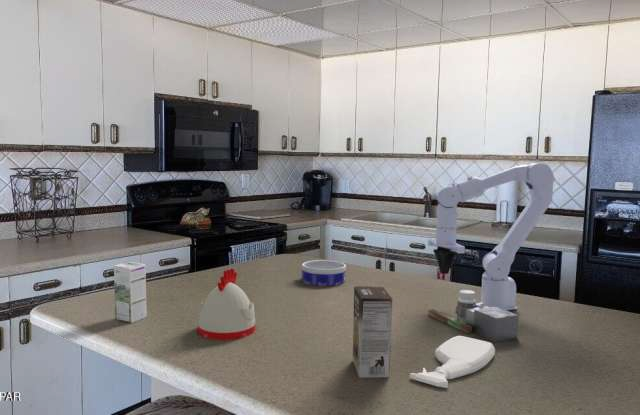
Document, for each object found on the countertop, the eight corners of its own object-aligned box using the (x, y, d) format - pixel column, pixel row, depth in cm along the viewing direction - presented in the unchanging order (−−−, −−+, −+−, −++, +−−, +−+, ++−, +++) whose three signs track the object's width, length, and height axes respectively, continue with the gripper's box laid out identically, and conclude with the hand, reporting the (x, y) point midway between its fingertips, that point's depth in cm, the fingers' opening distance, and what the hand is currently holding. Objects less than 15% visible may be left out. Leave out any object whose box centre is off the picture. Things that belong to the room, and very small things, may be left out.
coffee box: (351, 360, 111) (353, 285, 109) (381, 359, 111) (383, 285, 110) (358, 378, 102) (360, 297, 100) (390, 377, 102) (393, 297, 101)
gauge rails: (459, 310, 148) (460, 305, 148) (500, 327, 134) (501, 322, 134) (428, 314, 144) (428, 309, 144) (467, 333, 129) (467, 327, 129)
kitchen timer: (264, 325, 133) (265, 267, 131) (239, 342, 120) (239, 278, 118) (216, 318, 137) (216, 262, 136) (186, 335, 124) (186, 273, 123)
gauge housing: (494, 328, 133) (496, 306, 132) (517, 338, 126) (518, 315, 126) (473, 332, 130) (474, 309, 130) (494, 342, 123) (496, 318, 123)
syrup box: (147, 317, 136) (146, 263, 135) (130, 323, 131) (129, 267, 130) (131, 314, 139) (130, 260, 137) (113, 320, 134) (112, 264, 132)
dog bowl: (346, 287, 173) (346, 269, 173) (300, 286, 174) (300, 268, 173) (344, 276, 189) (345, 260, 188) (302, 275, 189) (302, 259, 188)
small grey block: (486, 324, 136) (487, 300, 135) (506, 333, 129) (507, 307, 129) (465, 328, 133) (466, 302, 132) (484, 336, 126) (485, 310, 126)
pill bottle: (475, 326, 135) (476, 294, 134) (456, 324, 136) (457, 293, 135) (474, 320, 139) (476, 290, 139) (456, 319, 141) (458, 288, 140)
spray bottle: (499, 356, 115) (455, 398, 96) (452, 345, 122) (402, 381, 102) (499, 344, 115) (455, 382, 95) (452, 333, 121) (402, 367, 102)
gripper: (420, 225, 157) (418, 269, 158) (451, 231, 144) (449, 279, 145) (439, 224, 160) (437, 267, 161) (471, 230, 147) (469, 277, 148)
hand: (444, 273), depth 154 cm, fingers closed
